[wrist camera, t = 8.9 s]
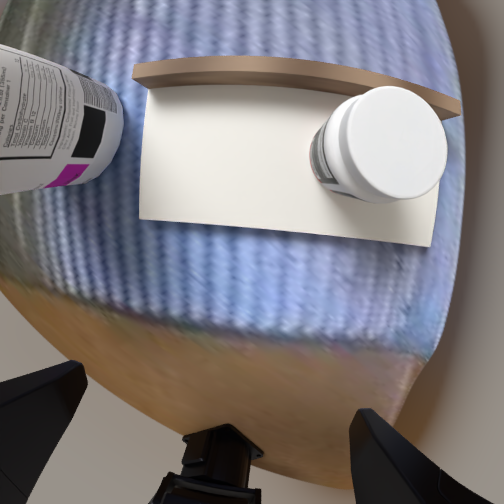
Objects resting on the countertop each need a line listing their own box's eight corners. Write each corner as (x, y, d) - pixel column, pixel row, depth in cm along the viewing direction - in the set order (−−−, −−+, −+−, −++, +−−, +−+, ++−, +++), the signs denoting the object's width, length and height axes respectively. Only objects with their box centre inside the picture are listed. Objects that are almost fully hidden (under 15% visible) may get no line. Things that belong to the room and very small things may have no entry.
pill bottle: (394, 154, 15) (474, 142, 7) (353, 211, 17) (414, 239, 8) (336, 105, 15) (383, 51, 7) (292, 163, 16) (308, 146, 8)
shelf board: (433, 110, 15) (460, 100, 12) (422, 243, 18) (448, 257, 14) (157, 80, 16) (134, 64, 13) (146, 216, 19) (120, 225, 15)
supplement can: (89, 204, 19) (-80, 254, 5) (40, 148, 18) (-100, 156, 4) (148, 118, 17) (-37, 62, 3) (89, 69, 16) (-52, 20, 2)
